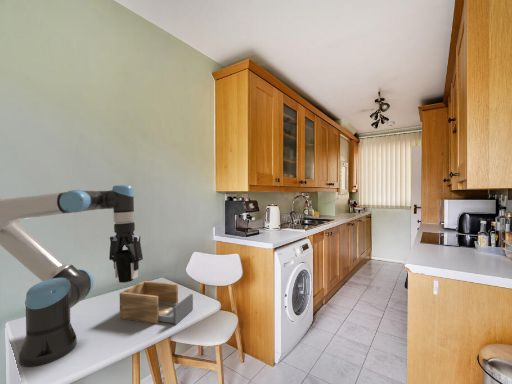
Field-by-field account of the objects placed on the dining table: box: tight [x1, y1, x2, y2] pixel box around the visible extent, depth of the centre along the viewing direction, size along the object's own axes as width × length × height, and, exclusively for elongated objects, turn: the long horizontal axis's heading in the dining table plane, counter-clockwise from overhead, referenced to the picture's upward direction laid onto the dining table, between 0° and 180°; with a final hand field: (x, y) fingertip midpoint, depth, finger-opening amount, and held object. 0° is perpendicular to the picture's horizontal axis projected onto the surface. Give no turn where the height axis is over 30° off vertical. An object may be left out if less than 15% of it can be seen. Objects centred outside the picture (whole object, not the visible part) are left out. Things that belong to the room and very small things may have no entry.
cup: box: [115, 248, 135, 284], centre depth 100 cm, size 8×8×12 cm
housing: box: [119, 280, 179, 324], centre depth 110 cm, size 15×19×11 cm
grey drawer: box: [159, 293, 194, 325], centre depth 108 cm, size 14×18×7 cm
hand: (126, 277), depth 100 cm, fingers closed on cup, 8 cm apart
